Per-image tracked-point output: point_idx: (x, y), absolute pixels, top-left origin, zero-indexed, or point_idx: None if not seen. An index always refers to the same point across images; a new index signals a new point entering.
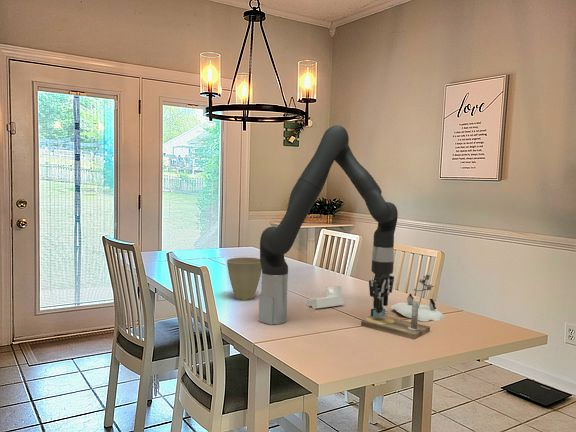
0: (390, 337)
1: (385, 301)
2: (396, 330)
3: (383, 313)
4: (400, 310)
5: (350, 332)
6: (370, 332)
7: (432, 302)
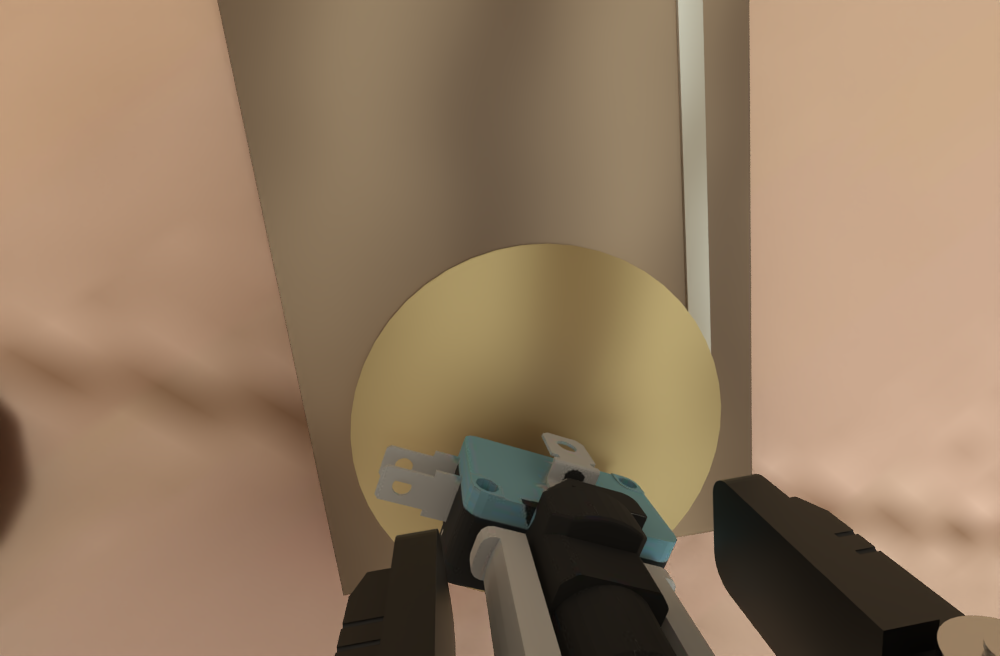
0: (850, 26)
1: (443, 613)
2: (747, 18)
3: (495, 463)
4: None
5: (981, 411)
6: (849, 290)
7: None
